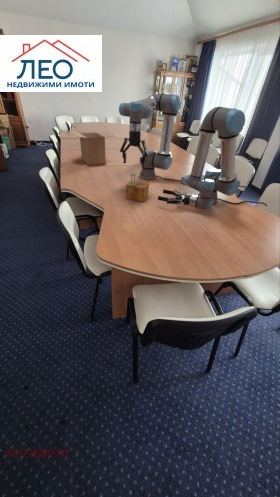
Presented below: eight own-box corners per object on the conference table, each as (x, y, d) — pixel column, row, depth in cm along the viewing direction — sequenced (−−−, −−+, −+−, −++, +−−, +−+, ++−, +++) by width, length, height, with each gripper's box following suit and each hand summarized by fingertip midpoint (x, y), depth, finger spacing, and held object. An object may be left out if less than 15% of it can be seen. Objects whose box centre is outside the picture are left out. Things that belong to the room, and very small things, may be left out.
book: (194, 177, 212) (195, 172, 209) (208, 182, 203) (210, 177, 200) (180, 182, 199) (181, 177, 196) (194, 188, 190) (196, 182, 187)
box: (116, 165, 229) (116, 136, 213) (83, 168, 214) (80, 137, 198) (102, 154, 259) (101, 128, 243) (71, 156, 244) (68, 129, 228)
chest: (126, 198, 165) (126, 186, 160) (131, 193, 173) (132, 181, 167) (143, 201, 162) (144, 189, 156) (147, 197, 169) (148, 185, 163)
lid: (126, 185, 160) (126, 173, 155) (131, 181, 167) (131, 170, 162) (144, 189, 156) (145, 177, 151) (148, 185, 163) (149, 173, 158)
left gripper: (115, 128, 142) (115, 162, 154) (151, 133, 135) (148, 168, 148) (120, 127, 148) (119, 160, 160) (155, 132, 141) (152, 166, 154)
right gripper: (185, 212, 145) (155, 206, 151) (192, 198, 164) (164, 193, 170) (187, 202, 141) (156, 195, 146) (194, 189, 160) (165, 183, 165)
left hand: (133, 164), depth 154 cm, fingers open, 13 cm apart
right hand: (160, 194), depth 158 cm, fingers open, 13 cm apart
